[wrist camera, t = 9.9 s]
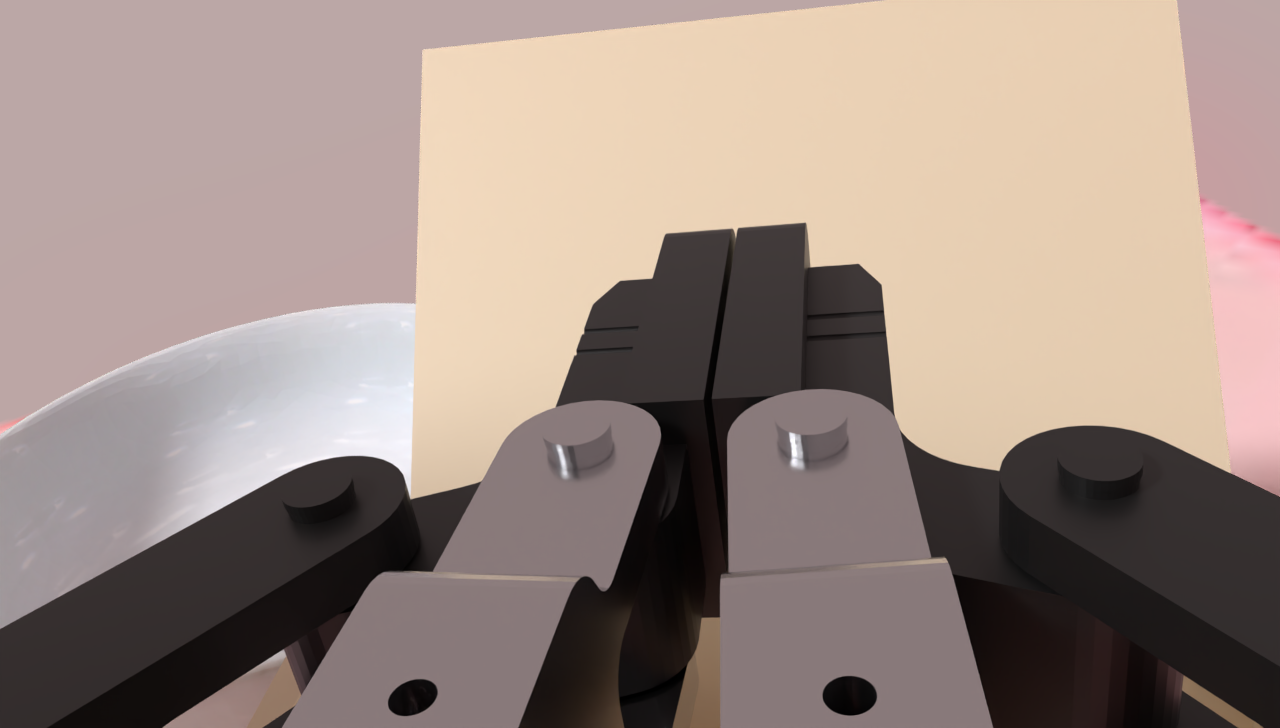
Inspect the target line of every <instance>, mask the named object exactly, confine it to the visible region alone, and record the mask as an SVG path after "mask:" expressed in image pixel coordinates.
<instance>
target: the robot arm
mask: <svg viewBox="0 0 1280 728" xmlns="http://www.w3.org/2000/svg"><path fill="white" fill-rule="evenodd" d="M576 352H577V355H574V358H573V360H572V363H571V366H570V369H569V371H568V374H567V377H566V380H565V382H564V385H563V388H562V390H561V393H560V396H559V399H558V401H557V404H556V407H555V408H552V409H549V410H546V411H544V412H542V413H540V414H537V415H535V416H533V417H531V418H530V419H528V420H526V421H525V422H523V423H522V424H520V425H519V426H518V427H516V428H515V429H514V430H513V431H512V432H511V433H510V434H509V435H508V436H507V437H506V439H505V440H504V442H503V443H502V445H501V447H500V449H499V450H498V452H497V454H496V456H495V458H494V460H493V461H492V463H491V465H490V467H489V469H488V471H487V473H486V474H485V476H484V478H483V480H482V481H481V482H478V483H475V484H471V485H468V486H464V487H460V488H456V489H452V490H448V491H443V492H439V493H435V494H431V495H427V496H422V497H418V498H414V499H410V496H409V492H408V489H407V485H406V482H405V479H404V475H403V474H402V472H401V471H400V470H399V468H397V467H396V466H395V465H393V464H392V463H390V462H388V461H385V460H383V459H379V458H375V457H369V456H343V457H334V458H329V459H325V460H320V461H317V462H313V463H310V464H307V465H304V466H302V467H299V468H296V469H294V470H292V471H290V472H288V473H286V474H284V475H282V476H280V477H278V478H276V479H274V480H272V481H270V482H269V483H267V484H265V485H263V486H261V487H259V488H258V489H256V490H254V491H252V492H250V493H248V494H247V495H245V496H243V497H241V498H239V499H237V500H236V501H234V502H232V503H230V504H228V505H226V506H225V507H223V508H221V509H219V510H217V511H215V512H214V513H212V514H210V515H208V516H206V517H204V518H203V519H201V520H199V521H197V522H195V523H193V524H192V525H190V526H188V527H186V528H184V529H182V530H181V531H179V532H177V533H175V534H173V535H171V536H170V537H168V538H166V539H164V540H162V541H160V542H159V543H157V544H155V545H153V546H151V547H149V548H148V549H146V550H144V551H142V552H140V553H138V554H137V555H135V556H133V557H131V558H129V559H127V560H126V561H124V562H122V563H120V564H118V565H116V566H115V567H113V568H111V569H109V570H107V571H105V572H104V573H102V574H100V575H98V576H96V577H94V578H93V579H91V580H89V581H87V582H85V583H83V584H82V585H80V586H78V587H76V588H74V589H72V590H71V591H69V592H67V593H65V594H63V595H61V596H60V597H58V598H56V599H54V600H52V601H50V602H49V603H47V604H45V605H43V606H41V607H39V608H38V609H36V610H34V611H32V612H30V613H28V614H27V615H25V616H23V617H21V618H19V619H17V620H16V621H14V622H12V623H10V624H8V625H6V626H5V627H3V628H1V629H0V728H163V727H164V726H165V725H167V724H168V723H169V722H171V721H172V720H174V719H175V718H177V717H179V716H180V715H182V714H183V713H185V712H186V711H188V710H189V709H191V708H193V707H194V706H196V705H197V704H199V703H200V702H202V701H204V700H205V699H207V698H208V697H210V696H211V695H213V694H214V693H216V692H218V691H219V690H221V689H222V688H224V687H225V686H227V685H229V684H230V683H232V682H233V681H235V680H236V679H238V678H239V677H241V676H243V675H244V674H246V673H247V672H249V671H250V670H252V669H254V668H255V667H257V666H258V665H260V664H261V663H263V662H264V661H266V660H268V659H269V658H271V657H272V656H274V655H275V654H277V653H279V652H280V651H282V650H283V649H284V651H285V654H286V656H287V659H288V662H289V664H290V667H291V670H292V672H293V675H294V677H295V680H296V683H297V685H298V688H299V691H300V693H301V697H300V699H299V700H298V702H297V704H296V705H295V706H294V707H292V708H291V709H289V710H288V711H286V712H285V713H283V714H282V715H280V716H279V717H278V718H276V719H275V720H273V721H272V722H270V723H269V724H267V725H266V726H264V727H263V728H690V723H691V719H692V714H693V710H694V705H695V701H696V696H697V692H698V686H699V675H698V668H697V662H696V655H695V651H696V649H697V645H698V641H699V635H700V627H701V620H702V618H720V728H1238V727H1236V726H1235V725H1233V724H1232V723H1230V722H1229V721H1227V720H1226V719H1224V718H1223V717H1221V716H1220V715H1218V714H1217V713H1215V712H1214V711H1212V710H1211V709H1209V708H1208V707H1206V706H1205V705H1203V704H1202V703H1200V702H1199V701H1197V700H1196V699H1194V698H1193V697H1191V696H1190V695H1188V694H1187V693H1185V692H1184V691H1182V686H1183V677H1184V676H1186V677H1187V678H1189V679H1190V680H1192V681H1193V682H1195V683H1196V684H1198V685H1200V686H1201V687H1203V688H1204V689H1206V690H1207V691H1209V692H1210V693H1212V694H1213V695H1215V696H1216V697H1218V698H1219V699H1221V700H1222V701H1224V702H1226V703H1227V704H1229V705H1230V706H1232V707H1233V708H1235V709H1236V710H1238V711H1239V712H1241V713H1242V714H1244V715H1245V716H1247V717H1248V718H1250V719H1252V720H1253V721H1255V722H1256V723H1258V724H1259V725H1260V726H1262V727H1263V728H1280V497H1279V496H1277V495H1275V494H1272V493H1270V492H1268V491H1266V490H1264V489H1262V488H1260V487H1258V486H1256V485H1254V484H1252V483H1250V482H1247V481H1245V480H1243V479H1241V478H1239V477H1237V476H1235V475H1233V474H1231V473H1229V472H1227V471H1225V470H1223V469H1220V468H1218V467H1216V466H1214V465H1212V464H1210V463H1208V462H1206V461H1204V460H1202V459H1200V458H1198V457H1196V456H1193V455H1191V454H1189V453H1187V452H1185V451H1183V450H1181V449H1179V448H1177V447H1175V446H1173V445H1171V444H1169V443H1166V442H1164V441H1162V440H1160V439H1157V438H1155V437H1152V436H1150V435H1147V434H1143V433H1140V432H1136V431H1133V430H1128V429H1122V428H1117V427H1108V426H1088V425H1083V426H1069V427H1063V428H1057V429H1052V430H1048V431H1045V432H1041V433H1038V434H1036V435H1033V436H1031V437H1029V438H1026V439H1025V440H1023V441H1022V442H1020V443H1018V444H1017V445H1015V446H1014V447H1013V448H1012V449H1011V450H1010V451H1009V452H1008V453H1007V455H1006V456H1005V458H1004V459H1003V461H1002V463H1001V467H1000V470H999V471H997V470H991V469H985V468H978V467H972V466H967V465H963V464H958V463H954V462H951V461H948V460H944V459H942V458H939V457H937V456H934V455H932V454H930V453H928V452H926V451H924V450H923V449H921V448H919V447H917V446H916V445H915V444H914V443H912V442H911V441H910V440H909V439H908V438H907V437H906V436H905V435H904V434H903V433H902V432H901V430H900V428H899V425H898V423H897V420H896V418H895V414H894V404H893V394H892V384H891V374H890V364H889V354H888V344H887V336H886V324H885V315H884V304H883V294H882V285H881V284H880V283H879V282H878V281H877V280H876V279H875V278H874V277H873V276H872V275H871V274H869V273H868V272H867V271H866V270H865V269H864V268H863V267H862V266H861V265H860V264H849V265H835V266H821V267H810V254H809V241H808V231H807V224H806V223H794V224H781V225H768V226H755V227H742V228H738V230H737V235H736V236H735V232H734V230H733V229H732V228H731V229H718V230H705V231H692V232H679V233H666V234H665V236H664V239H663V242H662V246H661V250H660V253H659V257H658V260H657V264H656V267H655V271H654V274H653V278H652V279H638V280H624V281H619V282H618V283H617V284H616V285H614V286H613V287H612V288H611V289H610V290H609V291H608V292H606V293H605V294H604V295H603V296H602V297H601V298H599V299H598V300H597V301H596V302H595V303H594V304H593V305H592V308H591V311H590V314H589V316H588V319H587V322H586V325H585V327H584V334H582V336H581V338H580V341H579V344H578V347H577V349H576Z"/></svg>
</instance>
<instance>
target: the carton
mask: <svg viewBox="0 0 1280 728" xmlns="http://www.w3.org/2000/svg"><path fill="white" fill-rule="evenodd" d="M695 655H696V662H697V668H698V675H699V686H698V692H697V696H696V701H695V705H694V710H693V714H692V719H691V723H690V728H720V618H702V620H701V627H700V635H699V641H698V645H697V649H696V651H695ZM1182 691H1184V692H1185V693H1187V694H1188V695H1190V696H1191V697H1193V698H1194V699H1196V700H1197V701H1199V702H1200V703H1202V704H1203V705H1205V706H1206V707H1208V708H1209V709H1211V710H1212V711H1214V712H1215V713H1217V714H1218V715H1220V716H1221V717H1223V718H1224V719H1226V720H1227V721H1229V722H1230V723H1232V724H1233V725H1235V726H1236V727H1238V728H1263V727H1262V726H1260V725H1259V724H1258V723H1256V722H1255V721H1253V720H1252V719H1250V718H1248V717H1247V716H1245V715H1244V714H1242V713H1241V712H1239V711H1238V710H1236V709H1235V708H1233V707H1232V706H1230V705H1229V704H1227V703H1226V702H1224V701H1222V700H1221V699H1219V698H1218V697H1216V696H1215V695H1213V694H1212V693H1210V692H1209V691H1207V690H1206V689H1204V688H1203V687H1201V686H1200V685H1198V684H1196V683H1195V682H1193V681H1192V680H1190V679H1189V678H1187V677H1186V676H1184V677H1183V686H1182ZM300 697H301V693H300V691H299V688H298V685H297V683H296V680H295V677H294V675H293V672H292V670H291V667H290V664H289V662H288V659H287V656H286V657H285V659H284V661H283V663H282V664H281V666H280V668H279V670H278V672H277V673H276V675H275V677H274V679H273V681H272V682H271V684H270V686H269V688H268V690H267V692H266V693H265V695H264V697H263V699H262V701H261V702H260V704H259V706H258V708H257V710H256V712H255V713H254V715H253V717H252V719H251V721H250V722H249V724H248V726H247V728H263V727H264V726H266V725H267V724H269V723H270V722H272V721H273V720H275V719H276V718H278V717H279V716H280V715H282V714H283V713H285V712H286V711H288V710H289V709H291V708H292V707H294V706H295V705H296V704H297V702H298V700H299V699H300Z"/></svg>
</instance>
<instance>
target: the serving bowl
mask: <svg viewBox="0 0 1280 728" xmlns="http://www.w3.org/2000/svg"><path fill="white" fill-rule="evenodd" d="M415 315H416V303H372V304H357V305H346V306H337V307H329V308H322V309H315V310H308V311H302V312H296V313H290V314H285V315H281V316H276V317H272V318H267V319H263V320H258V321H255V322H250V323H247V324H243V325H239V326H235V327H231V328H228V329H224V330H221V331H217V332H214V333H210V334H207V335H204V336H201V337H198V338H196V339H192V340H190V341H186V342H183V343H180V344H177V345H175V346H172V347H169V348H167V349H164V350H161V351H159V352H156V353H153V354H151V355H148V356H146V357H143V358H141V359H139V360H136V361H134V362H132V363H129V364H127V365H125V366H122V367H120V368H118V369H116V370H113V371H111V372H109V373H107V374H105V375H103V376H101V377H99V378H97V379H95V380H93V381H91V382H89V383H87V384H85V385H83V386H81V387H79V388H77V389H75V390H73V391H71V392H69V393H67V394H66V395H64V396H62V397H60V398H58V399H56V400H55V401H53V402H51V403H49V404H48V405H46V406H44V407H43V408H41V409H39V410H38V411H36V412H34V413H32V414H31V415H29V416H27V417H26V418H24V419H23V420H21V421H20V422H18V423H17V424H15V425H14V426H12V427H11V428H9V429H7V430H6V431H5V432H3V433H2V434H0V629H1V628H3V627H5V626H6V625H8V624H10V623H12V622H14V621H16V620H17V619H19V618H21V617H23V616H25V615H27V614H28V613H30V612H32V611H34V610H36V609H38V608H39V607H41V606H43V605H45V604H47V603H49V602H50V601H52V600H54V599H56V598H58V597H60V596H61V595H63V594H65V593H67V592H69V591H71V590H72V589H74V588H76V587H78V586H80V585H82V584H83V583H85V582H87V581H89V580H91V579H93V578H94V577H96V576H98V575H100V574H102V573H104V572H105V571H107V570H109V569H111V568H113V567H115V566H116V565H118V564H120V563H122V562H124V561H126V560H127V559H129V558H131V557H133V556H135V555H137V554H138V553H140V552H142V551H144V550H146V549H148V548H149V547H151V546H153V545H155V544H157V543H159V542H160V541H162V540H164V539H166V538H168V537H170V536H171V535H173V534H175V533H177V532H179V531H181V530H182V529H184V528H186V527H188V526H190V525H192V524H193V523H195V522H197V521H199V520H201V519H203V518H204V517H206V516H208V515H210V514H212V513H214V512H215V511H217V510H219V509H221V508H223V507H225V506H226V505H228V504H230V503H232V502H234V501H236V500H237V499H239V498H241V497H243V496H245V495H247V494H248V493H250V492H252V491H254V490H256V489H258V488H259V487H261V486H263V485H265V484H267V483H269V482H270V481H272V480H274V479H276V478H278V477H280V476H282V475H284V474H286V473H288V472H290V471H292V470H294V469H296V468H299V467H302V466H304V465H307V464H310V463H313V462H317V461H320V460H325V459H329V458H334V457H343V456H369V457H375V458H379V459H383V460H385V461H388V462H390V463H392V464H393V465H395V466H396V467H397V468H399V470H400V471H401V472H402V474H403V475H404V479H405V482H406V485H407V489H408V492H409V496H410V499H411V464H412V427H413V390H414V352H415ZM285 657H286V654H285V651H284V649H283V650H282V651H280V652H279V653H277V654H275V655H274V656H272V657H271V658H269V659H268V660H266V661H264V662H263V663H261V664H260V665H258V666H257V667H255V668H254V669H252V670H250V671H249V672H247V673H246V674H244V675H243V676H241V677H239V678H238V679H236V680H235V681H233V682H232V683H230V684H229V685H227V686H225V687H224V688H222V689H221V690H219V691H218V692H216V693H214V694H213V695H211V696H210V697H208V698H207V699H205V700H204V701H202V702H200V703H199V704H197V705H196V706H194V707H193V708H191V709H189V710H188V711H186V712H185V713H183V714H182V715H180V716H179V717H177V718H175V719H174V720H172V721H171V722H169V723H168V724H167V725H165V726H164V727H163V728H247V726H248V724H249V722H250V721H251V719H252V717H253V715H254V713H255V712H256V710H257V708H258V706H259V704H260V702H261V701H262V699H263V697H264V695H265V693H266V692H267V690H268V688H269V686H270V684H271V682H272V681H273V679H274V677H275V675H276V673H277V672H278V670H279V668H280V666H281V664H282V663H283V661H284V659H285Z"/></svg>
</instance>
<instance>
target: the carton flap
mask: <svg viewBox="0 0 1280 728" xmlns="http://www.w3.org/2000/svg"><path fill="white" fill-rule="evenodd" d="M421 96H422V97H421V130H420V133H421V134H420V166H419V204H418V205H419V207H418V242H417V282H416V315H415V352H414V390H413V427H412V464H411V499H414V498H418V497H422V496H427V495H431V494H435V493H439V492H443V491H448V490H452V489H456V488H460V487H464V486H468V485H471V484H475V483H478V482H481V481H482V480H483V478H484V476H485V474H486V473H487V471H488V469H489V467H490V465H491V463H492V461H493V460H494V458H495V456H496V454H497V452H498V450H499V449H500V447H501V445H502V443H503V442H504V440H505V439H506V437H507V436H508V435H509V434H510V433H511V432H512V431H513V430H514V429H515V428H516V427H518V426H519V425H520V424H522V423H523V422H525V421H526V420H528V419H530V418H531V417H533V416H535V415H537V414H540V413H542V412H544V411H546V410H549V409H552V408H555V407H556V404H557V401H558V399H559V396H560V393H561V390H562V388H563V385H564V382H565V380H566V377H567V374H568V371H569V369H570V366H571V363H572V360H573V358H574V355H577V352H576V349H577V347H578V344H579V341H580V338H581V336H582V334H584V327H585V325H586V322H587V319H588V316H589V314H590V311H591V308H592V305H593V304H594V303H595V302H596V301H597V300H598V299H599V298H601V297H602V296H603V295H604V294H605V293H606V292H608V291H609V290H610V289H611V288H612V287H613V286H614V285H616V284H617V283H618V282H619V281H624V280H638V279H652V278H653V274H654V271H655V267H656V264H657V260H658V257H659V253H660V250H661V246H662V242H663V239H664V236H665V234H666V233H679V232H692V231H705V230H718V229H731V228H732V229H733V230H734V232H735V236H736V235H737V230H738V228H742V227H755V226H768V225H781V224H794V223H806V224H807V231H808V241H809V254H810V267H821V266H835V265H849V264H860V265H861V266H862V267H863V268H864V269H865V270H866V271H867V272H868V273H869V274H871V275H872V276H873V277H874V278H875V279H876V280H877V281H878V282H879V283H880V284H881V285H882V294H883V304H884V315H885V324H886V336H887V344H888V354H889V364H890V374H891V384H892V394H893V404H894V414H895V418H896V420H897V423H898V425H899V428H900V430H901V432H902V433H903V434H904V435H905V436H906V437H907V438H908V439H909V440H910V441H911V442H912V443H914V444H915V445H916V446H917V447H919V448H921V449H923V450H924V451H926V452H928V453H930V454H932V455H934V456H937V457H939V458H942V459H944V460H948V461H951V462H954V463H958V464H963V465H967V466H972V467H978V468H985V469H991V470H997V471H999V470H1000V467H1001V463H1002V461H1003V459H1004V458H1005V456H1006V455H1007V453H1008V452H1009V451H1010V450H1011V449H1012V448H1013V447H1014V446H1015V445H1017V444H1018V443H1020V442H1022V441H1023V440H1025V439H1026V438H1029V437H1031V436H1033V435H1036V434H1038V433H1041V432H1045V431H1048V430H1052V429H1057V428H1063V427H1069V426H1083V425H1088V426H1108V427H1117V428H1122V429H1128V430H1133V431H1136V432H1140V433H1143V434H1147V435H1150V436H1152V437H1155V438H1157V439H1160V440H1162V441H1164V442H1166V443H1169V444H1171V445H1173V446H1175V447H1177V448H1179V449H1181V450H1183V451H1185V452H1187V453H1189V454H1191V455H1193V456H1196V457H1198V458H1200V459H1202V460H1204V461H1206V462H1208V463H1210V464H1212V465H1214V466H1216V467H1218V468H1220V469H1223V470H1225V471H1227V472H1229V473H1231V469H1230V460H1229V451H1228V442H1227V434H1226V425H1225V416H1224V408H1223V399H1222V390H1221V381H1220V373H1219V364H1218V355H1217V346H1216V338H1215V329H1214V320H1213V312H1212V303H1211V294H1210V285H1209V277H1208V268H1207V259H1206V250H1205V242H1204V233H1203V224H1202V216H1201V207H1200V198H1199V189H1198V181H1197V173H1196V163H1195V155H1194V146H1193V137H1192V129H1191V120H1190V111H1189V102H1188V94H1187V85H1186V76H1185V67H1184V59H1183V50H1182V42H1181V32H1180V24H1179V16H1178V6H1177V0H886V1H876V2H866V3H858V4H847V5H839V6H829V7H819V8H810V9H801V10H792V11H782V12H773V13H763V14H753V15H744V16H736V17H725V18H716V19H707V20H697V21H688V22H678V23H669V24H660V25H651V26H641V27H631V28H623V29H612V30H603V31H594V32H585V33H575V34H566V35H557V36H547V37H537V38H528V39H519V40H509V41H500V42H491V43H481V44H472V45H462V46H453V47H443V48H434V49H425V50H423V55H422V93H421Z"/></svg>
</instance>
